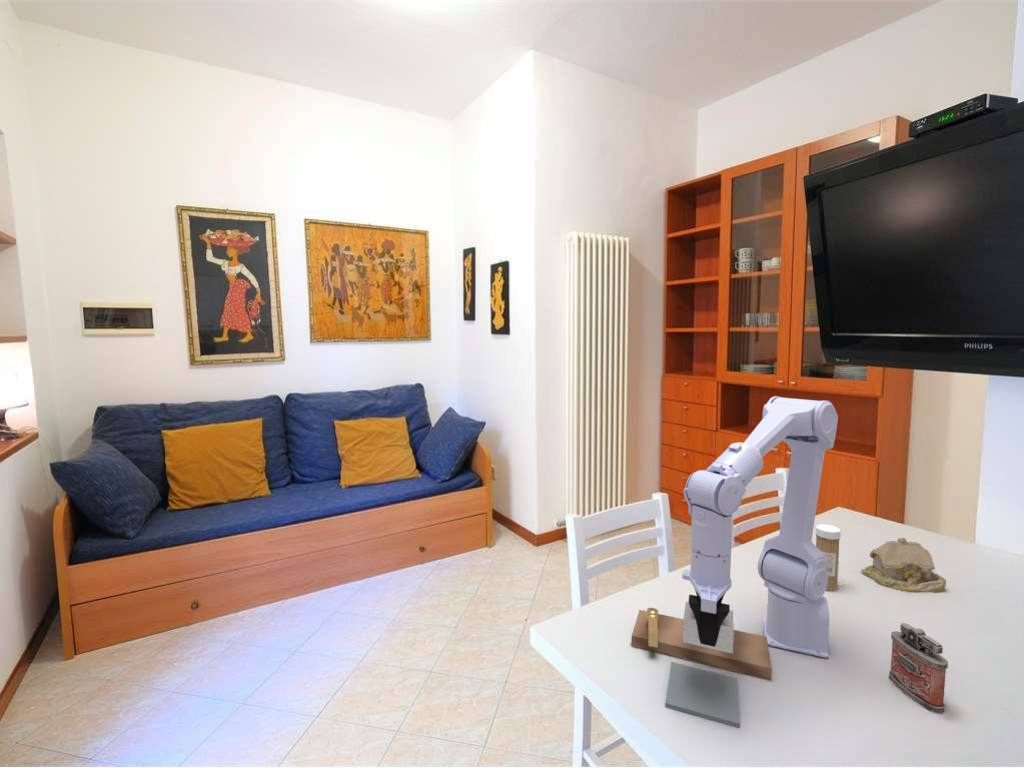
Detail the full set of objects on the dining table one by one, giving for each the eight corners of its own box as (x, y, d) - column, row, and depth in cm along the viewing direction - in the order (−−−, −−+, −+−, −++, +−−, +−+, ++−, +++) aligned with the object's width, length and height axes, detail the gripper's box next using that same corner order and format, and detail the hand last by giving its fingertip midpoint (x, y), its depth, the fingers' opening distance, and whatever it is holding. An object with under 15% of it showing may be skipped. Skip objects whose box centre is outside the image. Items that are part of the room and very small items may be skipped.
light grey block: (732, 635, 75) (732, 610, 75) (732, 653, 71) (733, 627, 70) (685, 624, 78) (685, 601, 78) (683, 642, 73) (683, 617, 73)
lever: (646, 621, 89) (646, 607, 88) (657, 623, 88) (658, 608, 88) (646, 645, 81) (647, 630, 81) (659, 647, 81) (659, 632, 81)
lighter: (882, 675, 77) (886, 616, 76) (901, 674, 77) (905, 615, 76) (930, 714, 69) (934, 648, 68) (951, 712, 69) (956, 647, 68)
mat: (737, 681, 76) (737, 678, 75) (739, 728, 66) (739, 723, 66) (671, 665, 80) (671, 661, 79) (665, 706, 70) (665, 702, 70)
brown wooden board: (766, 647, 84) (766, 636, 84) (771, 680, 76) (771, 668, 76) (639, 619, 93) (639, 609, 93) (631, 646, 85) (631, 635, 84)
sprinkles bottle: (841, 587, 105) (844, 528, 104) (832, 593, 102) (835, 533, 101) (819, 579, 109) (821, 522, 108) (809, 584, 106) (811, 526, 105)
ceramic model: (879, 590, 104) (881, 546, 103) (854, 567, 115) (856, 526, 114) (954, 597, 101) (957, 551, 100) (921, 572, 112) (923, 531, 111)
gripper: (686, 529, 81) (684, 605, 82) (679, 564, 68) (677, 654, 69) (731, 535, 79) (728, 614, 80) (733, 573, 65) (730, 667, 66)
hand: (708, 633), depth 74 cm, fingers closed on light grey block, 5 cm apart
